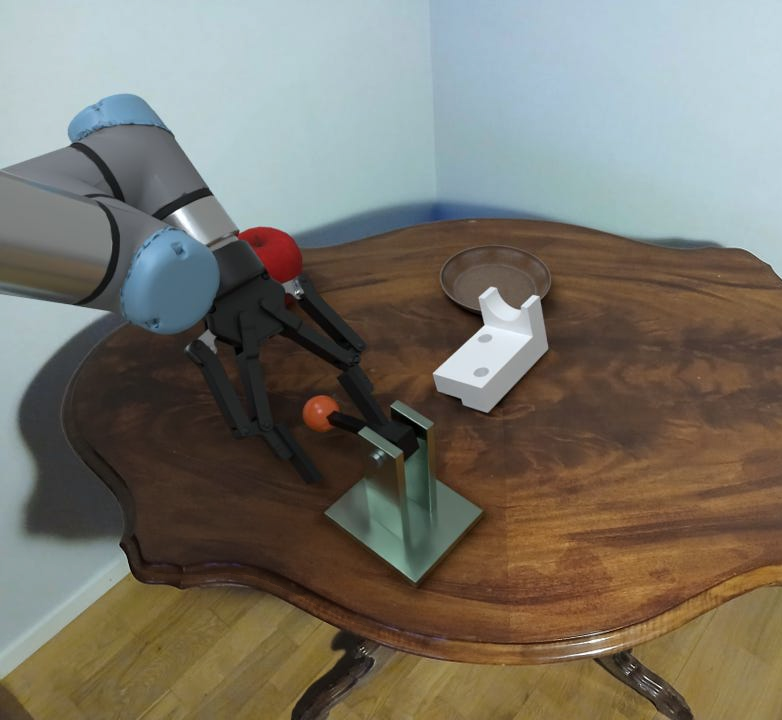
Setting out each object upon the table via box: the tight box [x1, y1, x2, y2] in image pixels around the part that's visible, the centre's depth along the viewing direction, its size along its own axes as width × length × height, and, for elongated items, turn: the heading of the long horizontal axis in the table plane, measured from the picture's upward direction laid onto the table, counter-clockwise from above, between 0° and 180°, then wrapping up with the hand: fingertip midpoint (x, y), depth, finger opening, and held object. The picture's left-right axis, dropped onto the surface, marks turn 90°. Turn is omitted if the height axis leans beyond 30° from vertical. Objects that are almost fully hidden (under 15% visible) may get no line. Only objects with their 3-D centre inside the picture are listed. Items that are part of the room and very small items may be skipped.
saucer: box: [439, 244, 552, 316], centre depth 97 cm, size 15×15×3 cm
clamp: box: [323, 399, 484, 590], centre depth 67 cm, size 12×10×14 cm
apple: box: [237, 226, 303, 306], centre depth 92 cm, size 10×10×11 cm
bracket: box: [432, 287, 549, 414], centre depth 85 cm, size 13×7×8 cm, turn 145°
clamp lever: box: [302, 394, 420, 462], centre depth 68 cm, size 14×4×4 cm, turn 52°
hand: (349, 451), depth 72 cm, fingers open, 8 cm apart
